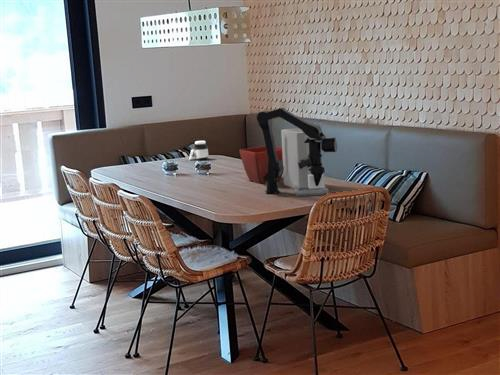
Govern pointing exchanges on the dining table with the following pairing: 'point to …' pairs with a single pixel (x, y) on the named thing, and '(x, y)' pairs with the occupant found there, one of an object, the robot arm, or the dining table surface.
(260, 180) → the plant pot
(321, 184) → the module
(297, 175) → the paper bag
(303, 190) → the grey folded cloth
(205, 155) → the spread jar
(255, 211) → the dining table surface
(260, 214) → the dining table surface
